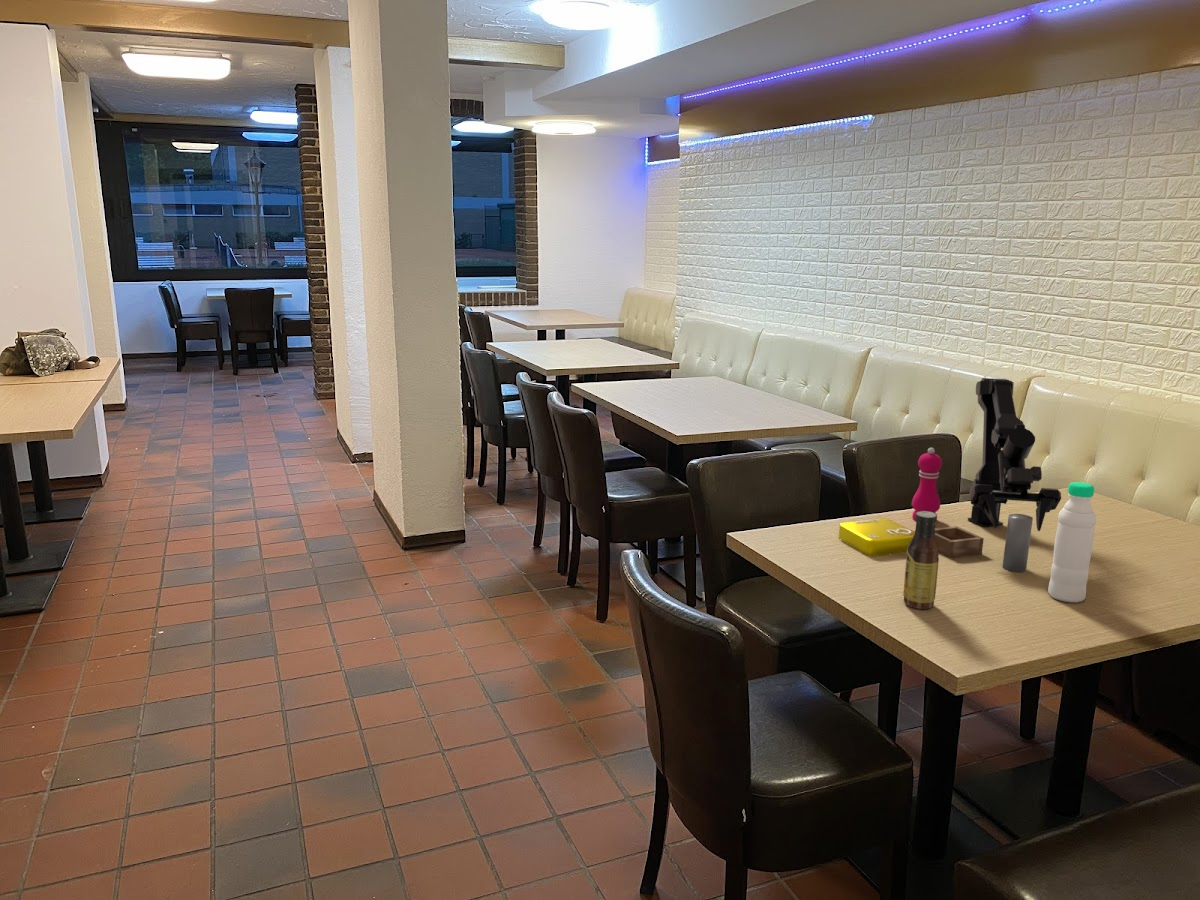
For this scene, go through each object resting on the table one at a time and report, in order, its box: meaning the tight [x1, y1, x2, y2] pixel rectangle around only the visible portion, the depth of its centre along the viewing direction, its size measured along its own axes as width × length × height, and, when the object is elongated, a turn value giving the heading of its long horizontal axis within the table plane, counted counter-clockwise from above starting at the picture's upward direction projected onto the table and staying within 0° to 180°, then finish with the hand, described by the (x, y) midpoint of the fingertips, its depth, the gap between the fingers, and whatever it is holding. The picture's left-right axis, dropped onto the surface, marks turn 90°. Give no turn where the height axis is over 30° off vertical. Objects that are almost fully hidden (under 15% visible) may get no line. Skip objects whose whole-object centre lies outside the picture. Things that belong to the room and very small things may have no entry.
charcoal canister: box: [1002, 513, 1033, 574], centre depth 206 cm, size 5×5×12 cm
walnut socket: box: [934, 525, 984, 559], centre depth 219 cm, size 10×10×4 cm
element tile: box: [838, 517, 915, 557], centre depth 223 cm, size 15×15×5 cm
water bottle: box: [1047, 481, 1097, 604], centre depth 188 cm, size 7×7×25 cm
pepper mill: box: [911, 447, 943, 522], centre depth 240 cm, size 7×7×20 cm
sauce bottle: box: [902, 511, 940, 610], centre depth 184 cm, size 7×6×20 cm
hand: (1017, 528), depth 207 cm, fingers open, 9 cm apart
